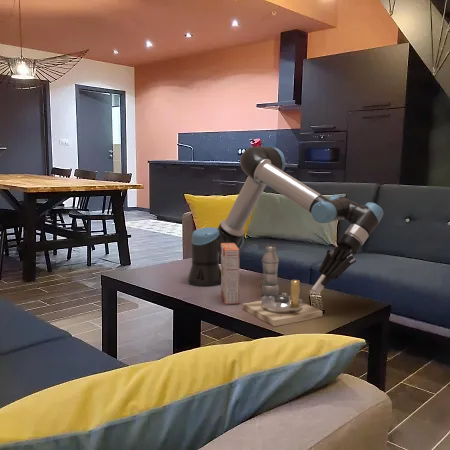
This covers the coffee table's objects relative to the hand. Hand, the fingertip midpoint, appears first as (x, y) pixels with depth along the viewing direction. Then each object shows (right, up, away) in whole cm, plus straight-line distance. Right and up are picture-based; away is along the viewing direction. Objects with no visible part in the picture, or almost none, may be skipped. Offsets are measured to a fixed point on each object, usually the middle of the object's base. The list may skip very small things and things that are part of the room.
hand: (315, 291), depth 163 cm
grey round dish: (-11, -6, +2) cm, 12 cm away
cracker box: (-29, -6, +20) cm, 36 cm away
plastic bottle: (-13, -5, +24) cm, 28 cm away
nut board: (-11, -8, +3) cm, 14 cm away
